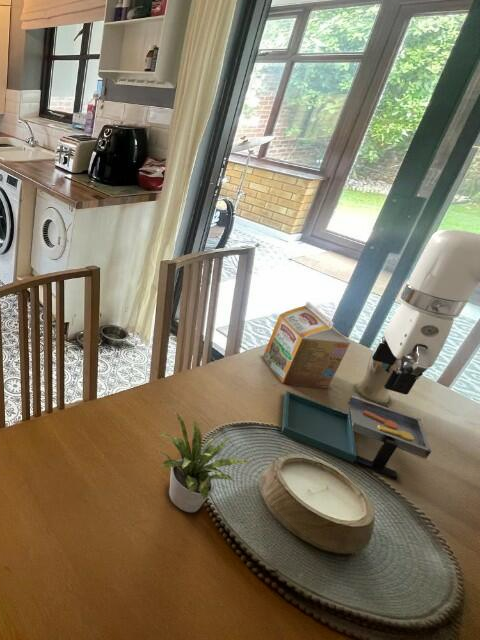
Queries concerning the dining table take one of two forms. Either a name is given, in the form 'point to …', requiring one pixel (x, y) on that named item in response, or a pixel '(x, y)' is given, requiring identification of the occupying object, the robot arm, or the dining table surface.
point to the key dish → (370, 429)
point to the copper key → (382, 420)
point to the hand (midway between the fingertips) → (388, 375)
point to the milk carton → (305, 347)
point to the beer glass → (378, 379)
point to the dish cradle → (381, 458)
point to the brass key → (397, 432)
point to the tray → (318, 426)
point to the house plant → (194, 470)
